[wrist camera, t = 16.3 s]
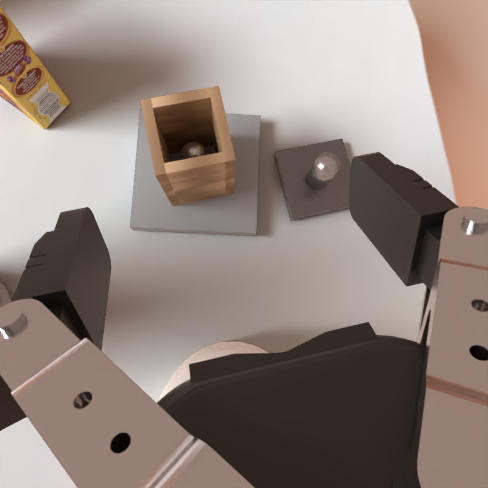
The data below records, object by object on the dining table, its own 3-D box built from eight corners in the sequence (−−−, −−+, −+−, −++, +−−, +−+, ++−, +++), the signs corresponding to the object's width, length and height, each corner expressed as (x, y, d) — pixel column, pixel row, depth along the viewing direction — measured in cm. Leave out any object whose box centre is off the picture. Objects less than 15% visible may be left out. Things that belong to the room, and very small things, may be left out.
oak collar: (172, 206, 37) (155, 175, 28) (160, 147, 38) (140, 100, 29) (233, 193, 37) (235, 159, 28) (220, 136, 38) (218, 85, 29)
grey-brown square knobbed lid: (290, 220, 39) (300, 208, 34) (274, 155, 40) (281, 134, 35) (356, 206, 39) (375, 192, 34) (339, 142, 40) (355, 120, 35)
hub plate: (133, 229, 38) (114, 215, 31) (143, 115, 40) (126, 79, 33) (255, 235, 38) (261, 222, 32) (259, 122, 40) (265, 87, 33)
